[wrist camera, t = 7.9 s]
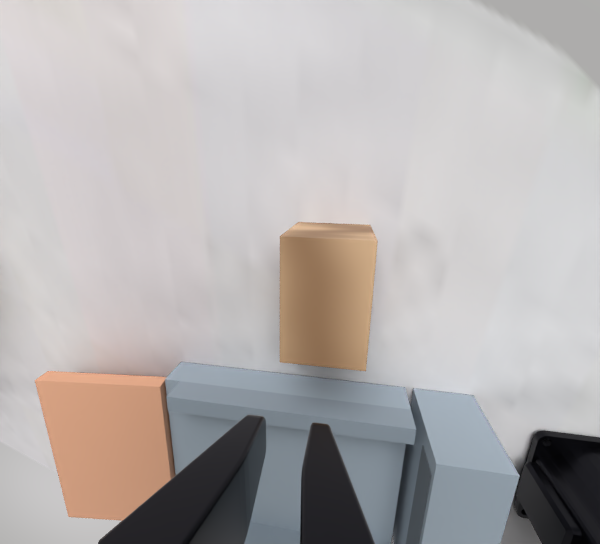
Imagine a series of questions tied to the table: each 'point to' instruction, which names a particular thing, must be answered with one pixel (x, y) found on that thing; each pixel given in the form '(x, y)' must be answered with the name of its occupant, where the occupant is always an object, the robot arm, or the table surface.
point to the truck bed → (355, 451)
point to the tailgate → (107, 440)
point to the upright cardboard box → (326, 294)
